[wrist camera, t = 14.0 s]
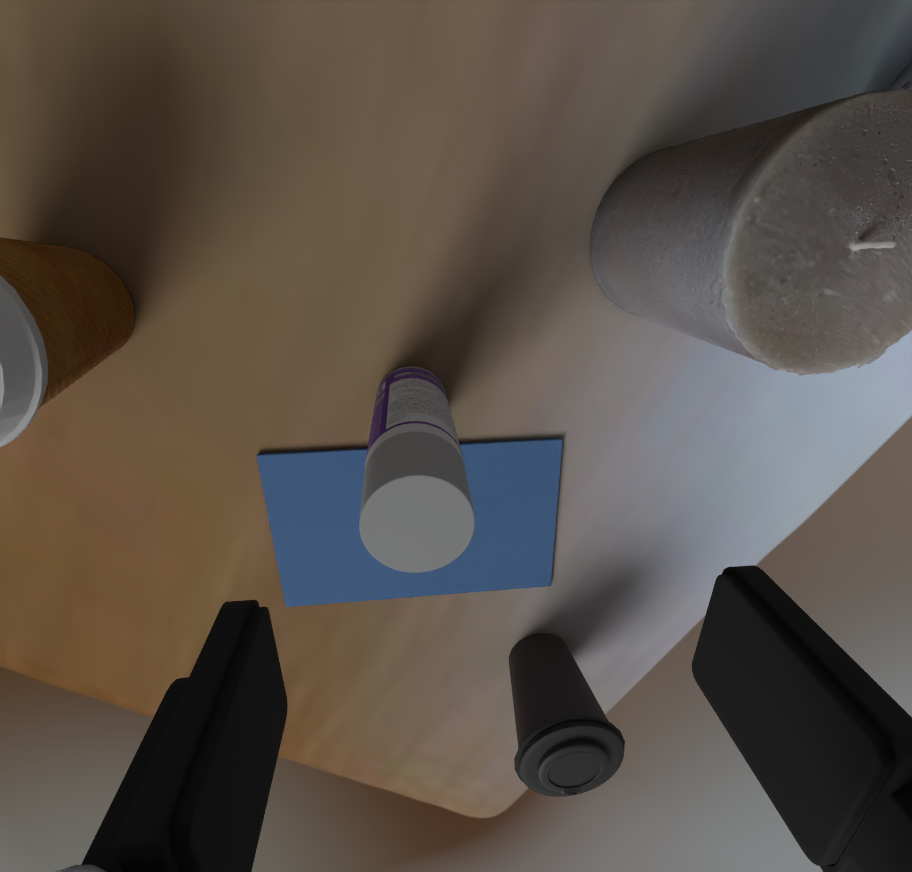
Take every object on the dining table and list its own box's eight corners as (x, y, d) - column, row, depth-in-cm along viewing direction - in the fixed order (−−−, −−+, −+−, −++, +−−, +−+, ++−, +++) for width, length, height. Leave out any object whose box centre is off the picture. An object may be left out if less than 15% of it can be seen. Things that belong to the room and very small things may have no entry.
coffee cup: (520, 702, 45) (550, 823, 36) (476, 650, 42) (496, 768, 33) (597, 662, 44) (649, 777, 35) (558, 606, 41) (603, 715, 32)
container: (409, 445, 34) (413, 595, 20) (361, 397, 32) (329, 524, 18) (460, 402, 33) (502, 527, 19) (414, 350, 31) (423, 447, 17)
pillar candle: (703, 109, 27) (1006, -12, 14) (763, 258, 31) (1051, 280, 17) (558, 219, 29) (699, 210, 15) (632, 349, 32) (800, 437, 19)
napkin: (257, 453, 33) (256, 455, 32) (561, 437, 35) (562, 439, 34) (286, 604, 38) (285, 607, 38) (549, 583, 40) (550, 586, 39)
